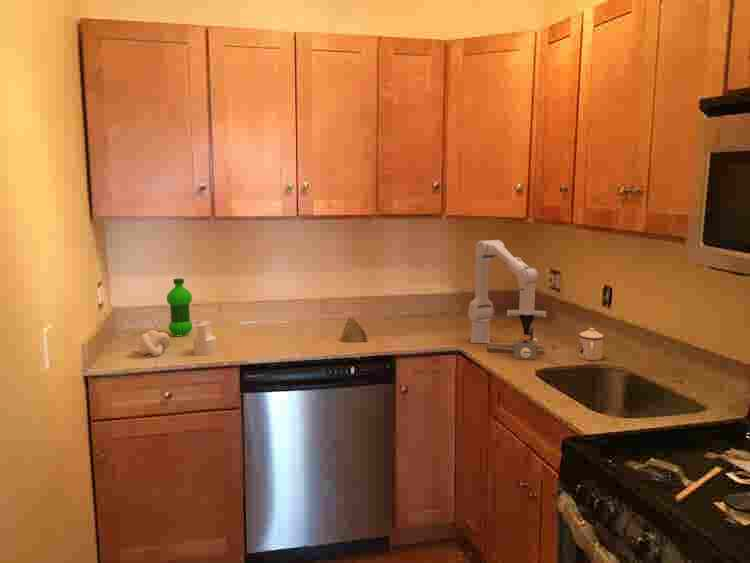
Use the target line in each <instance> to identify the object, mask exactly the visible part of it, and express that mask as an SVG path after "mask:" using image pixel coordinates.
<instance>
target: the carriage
mask: <svg viewBox="0 0 750 563" xmlns="http://www.w3.org/2000/svg"><path fill="white" fill-rule="evenodd" d="M528 335H529V336H530V341H536V344H537V348H538V344H539V340H538V338H536V337H534V327H532V326H530V328H529V331H528Z"/></svg>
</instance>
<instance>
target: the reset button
mask: <svg viewBox="0 0 750 563" xmlns="http://www.w3.org/2000/svg"><path fill="white" fill-rule="evenodd" d="M520 340H524V343H527V340H530V336H529V335H524V334H521V335H520Z"/></svg>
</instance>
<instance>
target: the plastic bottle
mask: <svg viewBox="0 0 750 563" xmlns="http://www.w3.org/2000/svg"><path fill="white" fill-rule="evenodd" d="M184 279H185V278H174V279H173V284H174V287H173V288H172V289H171V290H170V291H169V292H168V293H167V295H166V301H167V304H168V305H169V306H170V307H169V308H170V322H169V325H168V329H169V331H170V332H171V334H173V335H174V336H175V335H179V336H178V337H181V336H180V335H185V336H187V335H188V334H189V333H190V332H191V331H192V329H193V323H192V321H191V320H190V318H191V317H190V304H191V303H192V300H193V295H192V293H191V292H190V291H189V290H188V289H187V288H185V287H184V286H183V285H184V283H185V280H184ZM186 334H187V335H186Z"/></svg>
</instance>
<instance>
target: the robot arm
mask: <svg viewBox="0 0 750 563" xmlns="http://www.w3.org/2000/svg"><path fill="white" fill-rule="evenodd" d="M495 257H498V258H500V260H502V261H503V262H505V263H506V264H507V268H508V270H509V271H510V272H512V273H513V274H514V275H515V276H516V280H517V282H518V288H519V302H518V303H519V304H518V306H519V307H518V309H508V310H506V311H507V312H506V316H508V317H509V316H514V317H516V316H517V317H519V320H520V323H521V326H522V330H523V335H528V331H529V328H530V327H531V325H532V323H533V322H534V320H535V317H539V318H540V317H541V318H542V317H543V318H547V311H546V310H545V311H544V310H535V304H536V284H537V283H538V281H539V280H540V272H539V271H538V270H537V268H535V267H530V266H529V265H528V264H527V263H525V262H524V261H523V260H522V258H521V257H517V256H515V257H514V256H513V255H512V253H510V251H509V250H507V248H506V247H505V243H503V241H501V240H500V239H493V240H492V239H490V240H478V242H477V243H476V244H475V289H474V290H475V293H474V294H475V295H474V299H472V300H471V301H470V302H469V308H468V310H467V315H468V318H469V319H470V321H471V336H470V343H471V344H472V343H473V344H475V343H476V344H488V343H489V342H491V341H490V340H491V339H490V322H491V321H492V318H493V317H494V314H495V313H494V312H495V310H494V307H493V302H492V300H490V299H489V264H490V261H491V260H492V259H493V258H495Z"/></svg>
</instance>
